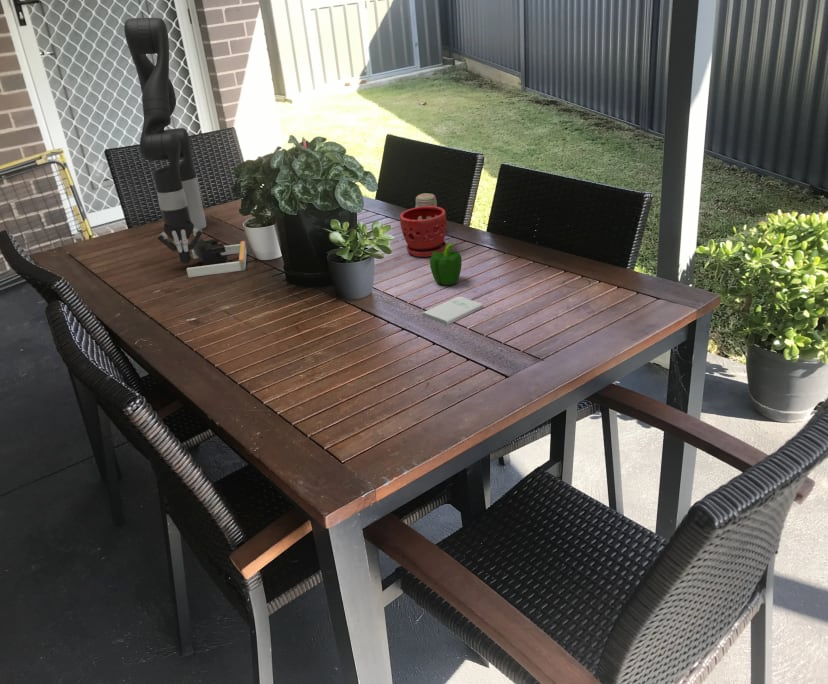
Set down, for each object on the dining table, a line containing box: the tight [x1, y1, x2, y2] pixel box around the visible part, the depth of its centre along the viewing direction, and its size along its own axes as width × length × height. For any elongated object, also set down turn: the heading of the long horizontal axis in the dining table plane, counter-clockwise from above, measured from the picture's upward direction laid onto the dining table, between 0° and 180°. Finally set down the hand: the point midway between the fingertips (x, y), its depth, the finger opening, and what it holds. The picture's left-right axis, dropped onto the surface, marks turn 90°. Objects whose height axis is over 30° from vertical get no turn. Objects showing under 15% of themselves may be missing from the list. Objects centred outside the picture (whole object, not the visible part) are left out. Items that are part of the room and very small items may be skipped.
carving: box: [414, 192, 438, 220], centre depth 225 cm, size 6×8×12 cm
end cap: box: [193, 238, 228, 266], centre depth 214 cm, size 10×7×7 cm
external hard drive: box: [422, 295, 484, 326], centre depth 173 cm, size 2×8×12 cm
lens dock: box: [186, 240, 248, 278], centre depth 215 cm, size 17×16×3 cm
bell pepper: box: [429, 243, 463, 286], centre depth 187 cm, size 8×8×10 cm
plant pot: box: [399, 206, 447, 258], centre depth 209 cm, size 13×13×12 cm
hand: (186, 262), depth 214 cm, fingers closed
